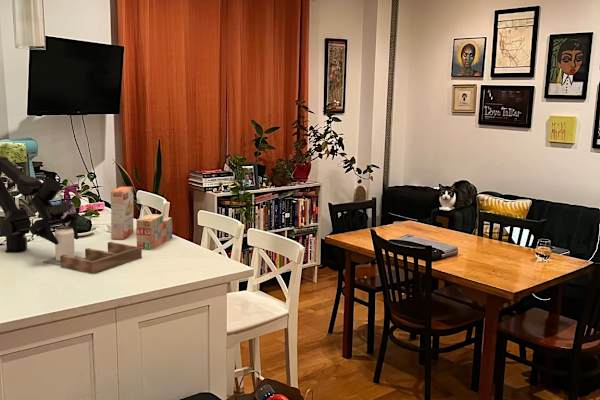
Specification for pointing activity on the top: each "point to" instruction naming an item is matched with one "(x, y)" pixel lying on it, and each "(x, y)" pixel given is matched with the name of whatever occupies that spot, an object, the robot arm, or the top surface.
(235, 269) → the top surface
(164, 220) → the stack of blocks
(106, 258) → the shelf lanes
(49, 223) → the robot arm
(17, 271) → the top surface
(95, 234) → the top surface
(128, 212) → the cracker box
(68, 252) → the can
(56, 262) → the mat
